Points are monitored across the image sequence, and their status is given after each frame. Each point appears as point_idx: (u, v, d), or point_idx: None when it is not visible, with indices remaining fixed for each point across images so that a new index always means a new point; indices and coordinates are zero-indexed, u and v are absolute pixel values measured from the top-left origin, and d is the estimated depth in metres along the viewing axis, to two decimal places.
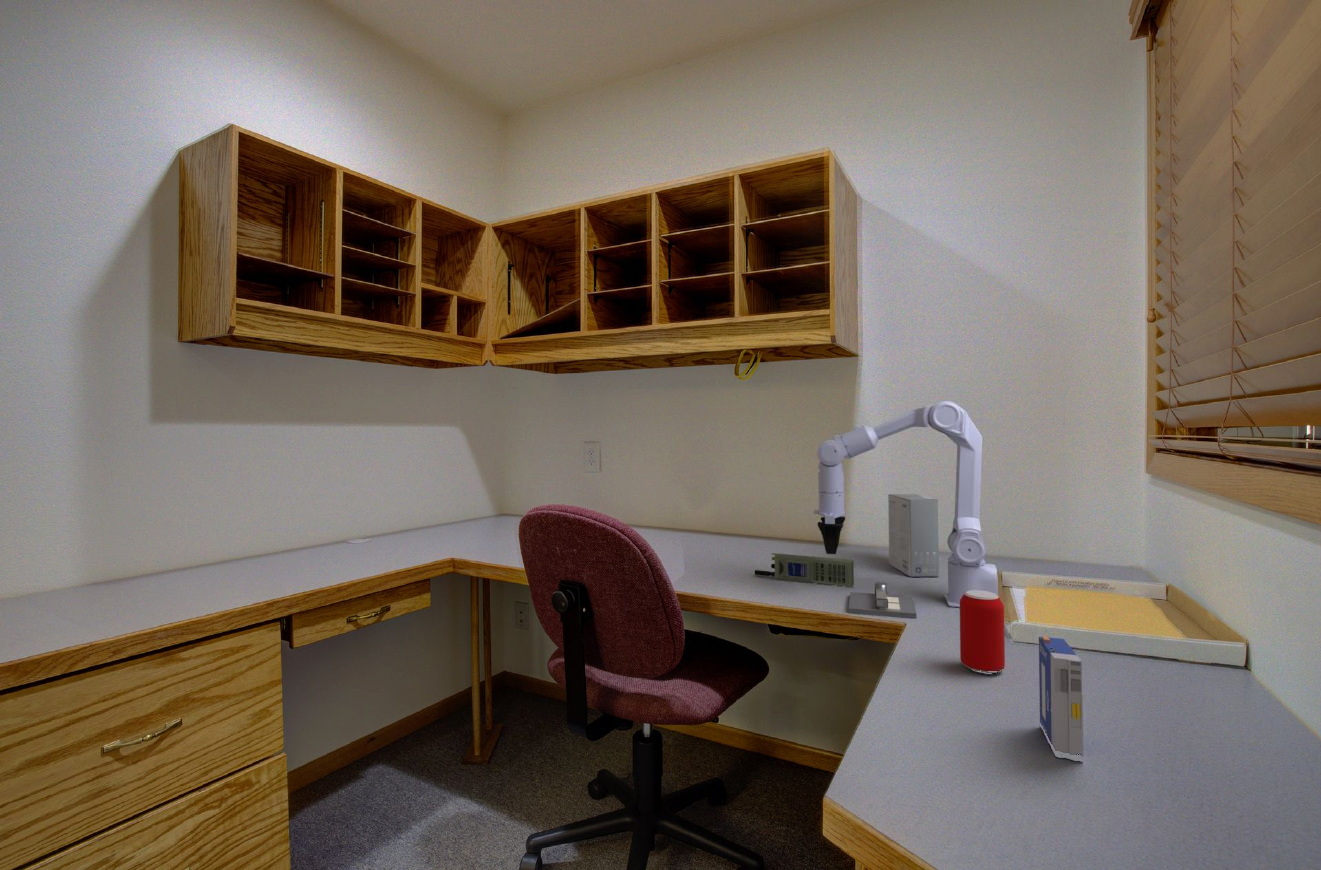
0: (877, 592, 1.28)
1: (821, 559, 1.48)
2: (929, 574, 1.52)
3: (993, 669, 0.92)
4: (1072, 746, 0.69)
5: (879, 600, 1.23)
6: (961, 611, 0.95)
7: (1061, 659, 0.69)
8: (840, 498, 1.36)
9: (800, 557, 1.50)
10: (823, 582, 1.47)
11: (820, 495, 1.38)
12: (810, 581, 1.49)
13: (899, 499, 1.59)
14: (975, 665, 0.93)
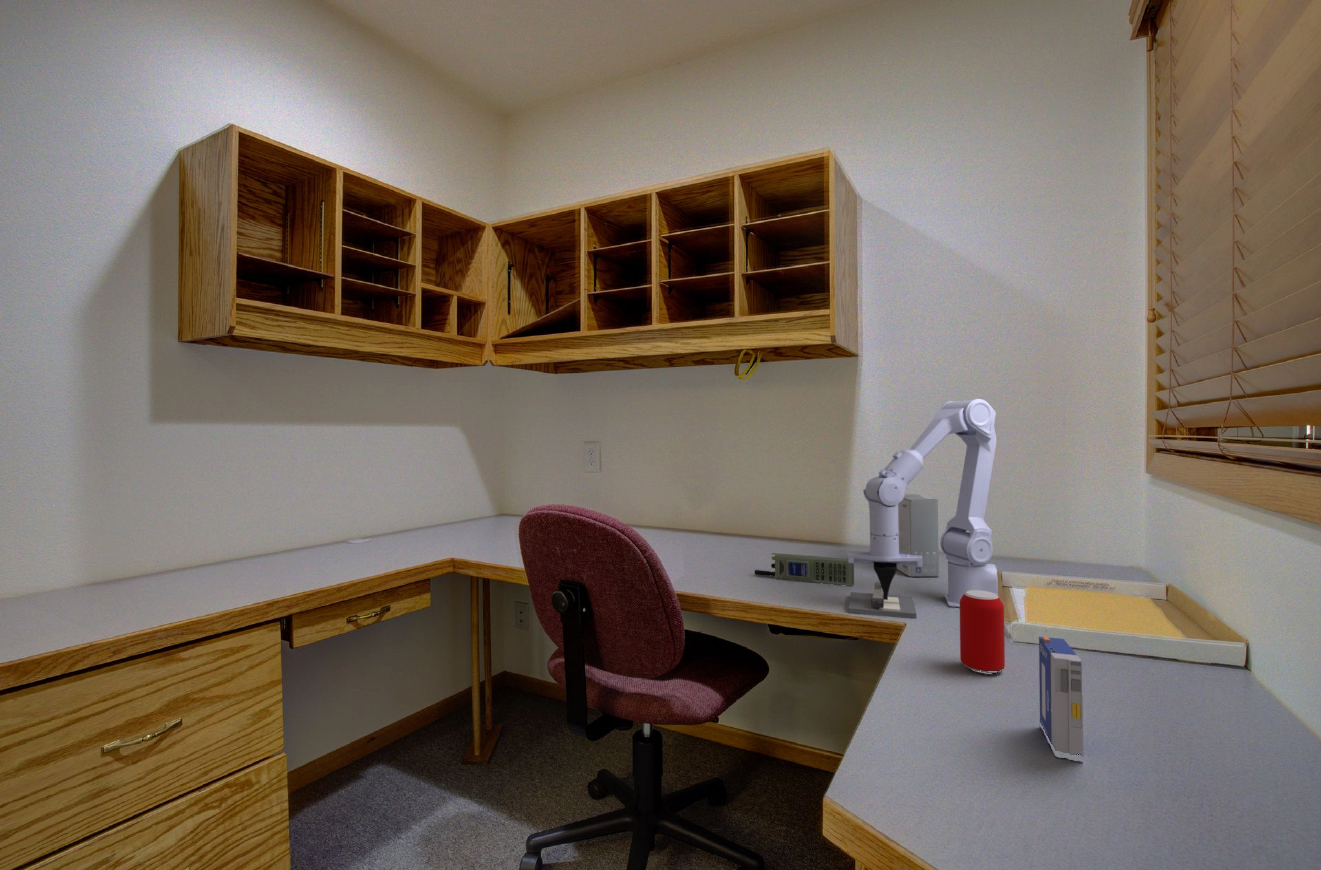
0: (875, 592, 1.28)
1: (821, 558, 1.48)
2: (929, 574, 1.52)
3: (993, 669, 0.92)
4: (1072, 746, 0.69)
5: (874, 600, 1.23)
6: (961, 611, 0.95)
7: (1061, 659, 0.69)
8: (874, 541, 1.25)
9: (800, 557, 1.51)
10: (824, 581, 1.48)
11: None
12: (811, 580, 1.49)
13: None
14: (975, 665, 0.93)
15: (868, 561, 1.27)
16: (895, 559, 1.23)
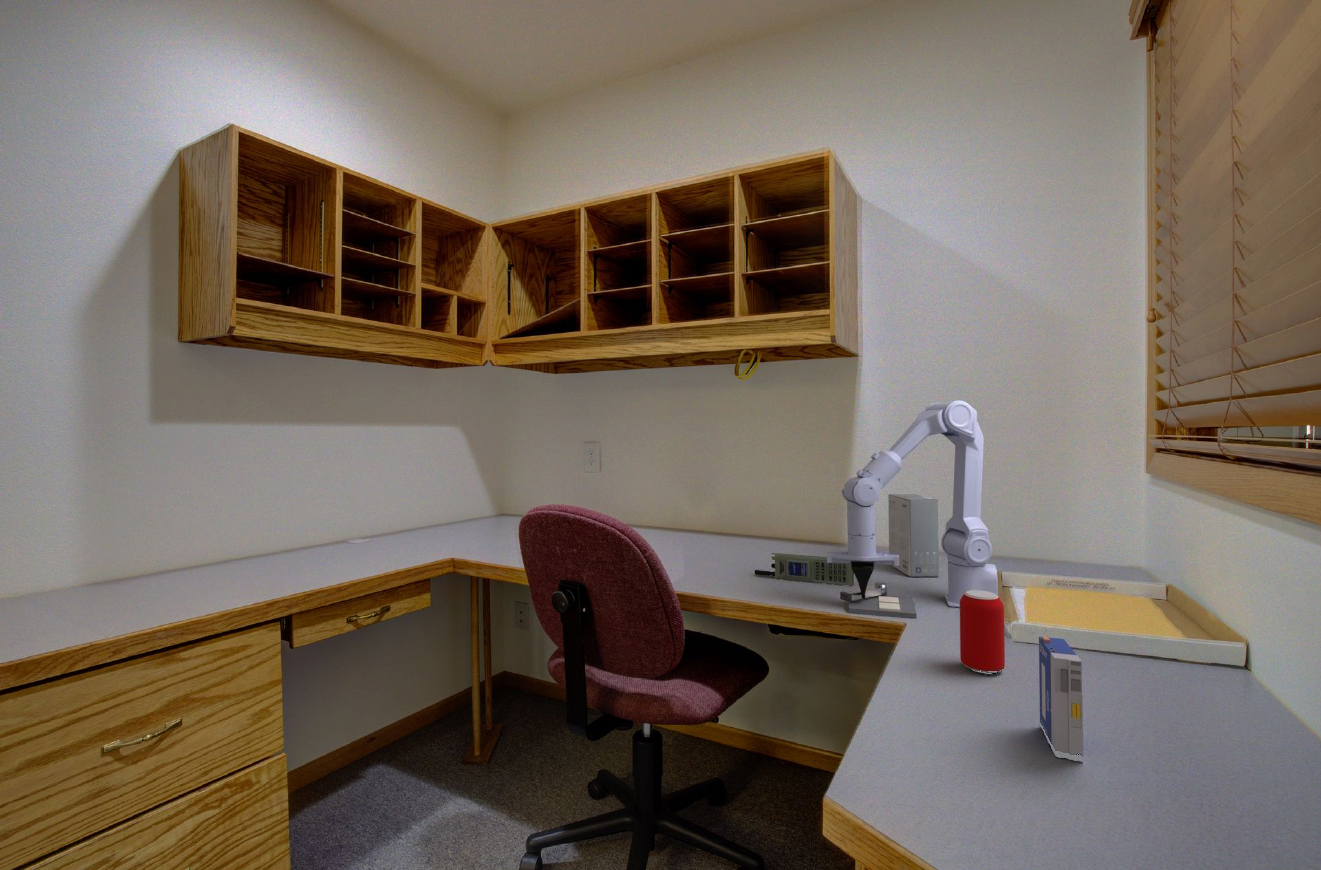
0: None
1: (822, 558, 1.49)
2: (929, 574, 1.52)
3: (993, 669, 0.92)
4: (1072, 746, 0.69)
5: (842, 593, 1.28)
6: (961, 611, 0.95)
7: (1061, 659, 0.69)
8: (852, 541, 1.26)
9: (800, 556, 1.51)
10: (824, 581, 1.48)
11: None
12: (811, 580, 1.49)
13: (899, 499, 1.59)
14: (975, 665, 0.93)
15: (846, 560, 1.28)
16: (872, 558, 1.25)
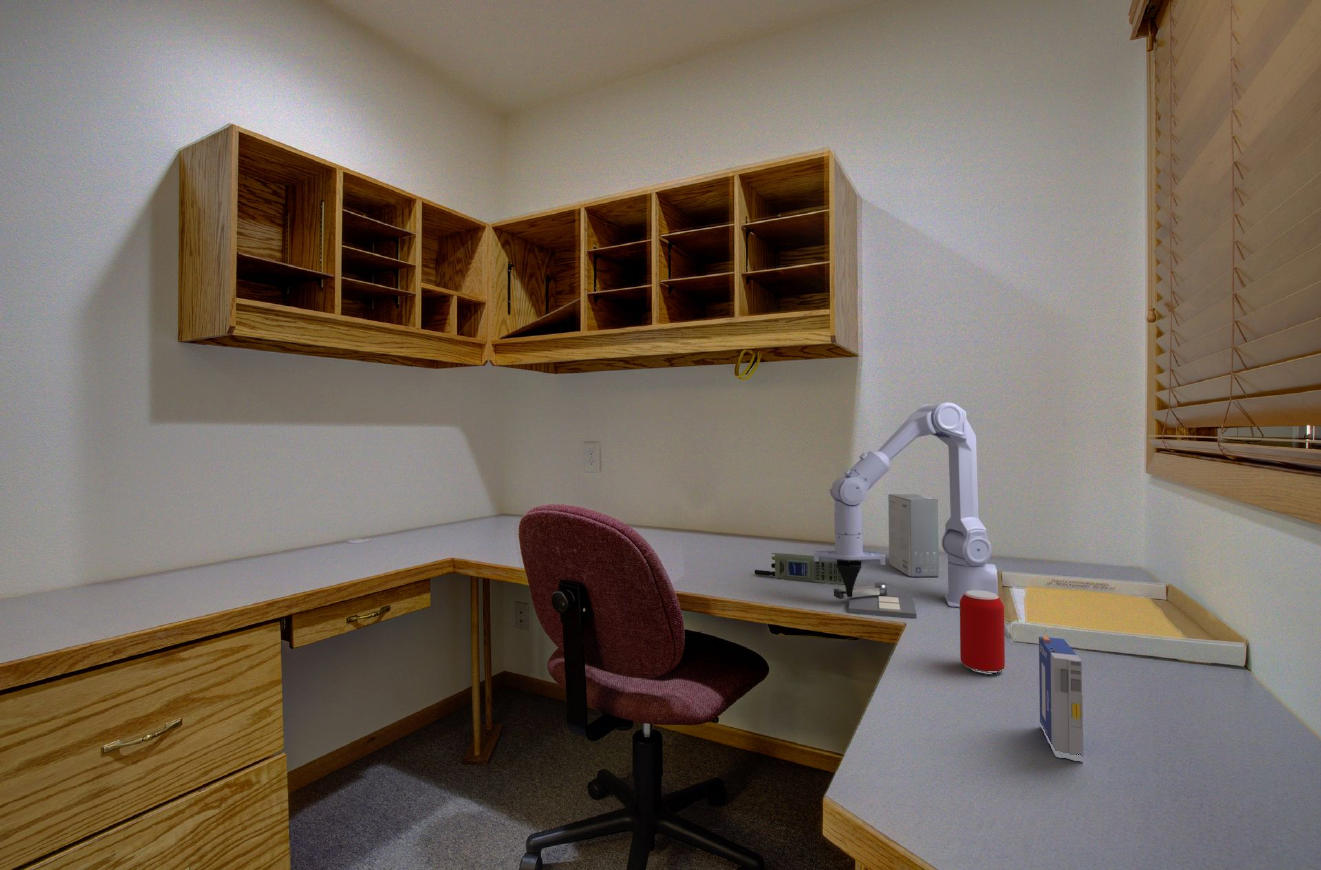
0: (857, 587, 1.32)
1: None
2: (929, 574, 1.52)
3: (993, 669, 0.92)
4: (1072, 746, 0.69)
5: (835, 590, 1.31)
6: (961, 611, 0.95)
7: (1061, 659, 0.69)
8: (839, 540, 1.27)
9: (801, 556, 1.51)
10: (824, 581, 1.48)
11: None
12: (811, 580, 1.50)
13: (899, 499, 1.59)
14: (975, 665, 0.93)
15: (833, 559, 1.29)
16: (858, 557, 1.25)
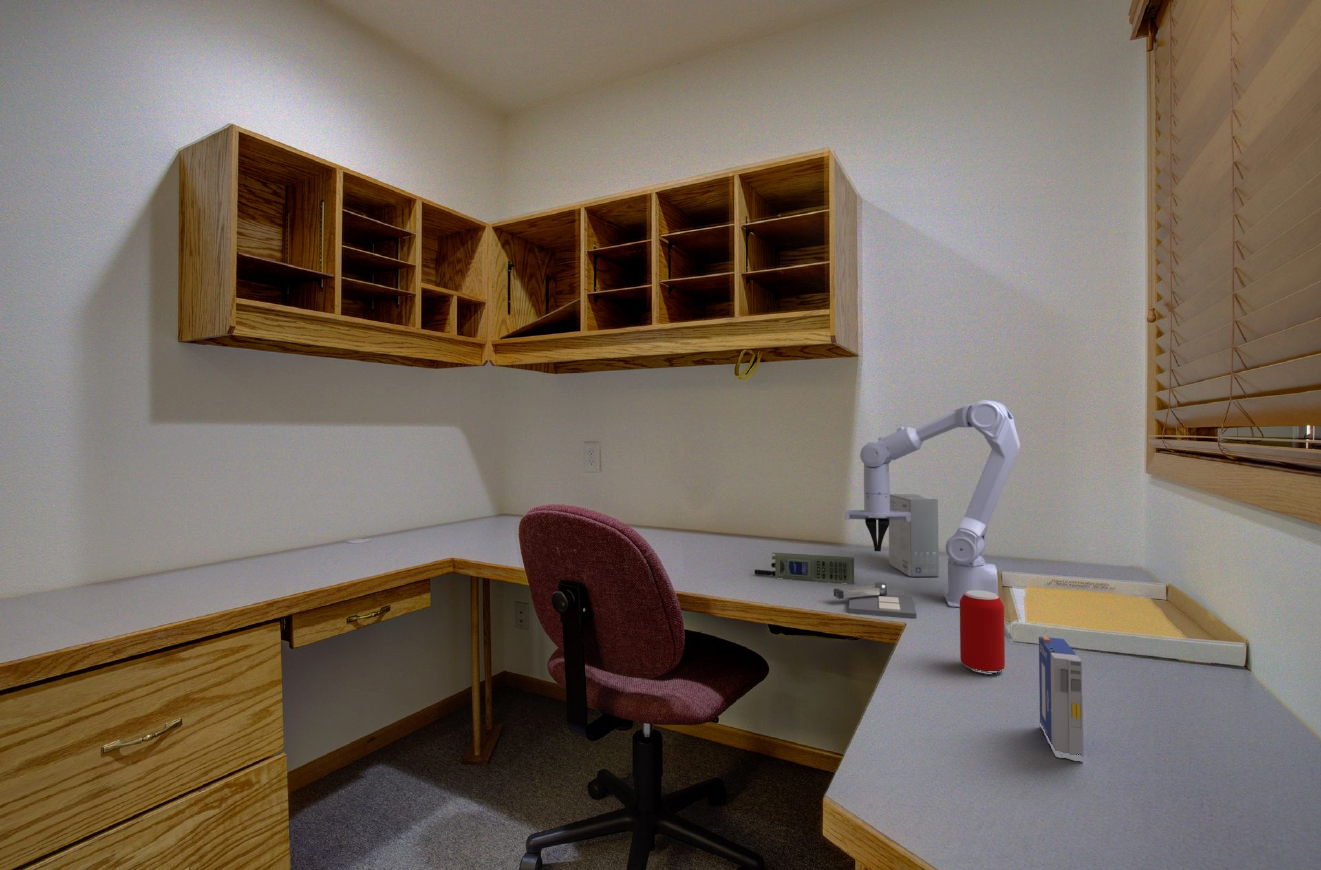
0: (857, 587, 1.32)
1: (822, 557, 1.50)
2: (929, 574, 1.52)
3: (993, 669, 0.92)
4: (1072, 746, 0.69)
5: (835, 590, 1.31)
6: (961, 611, 0.95)
7: (1061, 659, 0.69)
8: (868, 499, 1.40)
9: (801, 556, 1.52)
10: (824, 580, 1.49)
11: None
12: (811, 579, 1.50)
13: (899, 499, 1.59)
14: (975, 665, 0.93)
15: (862, 517, 1.42)
16: (886, 514, 1.38)
